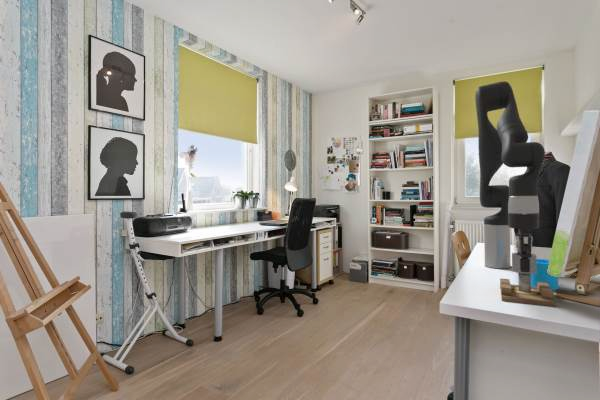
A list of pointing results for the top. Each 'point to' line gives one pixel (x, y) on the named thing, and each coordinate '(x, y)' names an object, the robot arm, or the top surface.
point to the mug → (544, 275)
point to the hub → (517, 264)
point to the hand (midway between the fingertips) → (524, 269)
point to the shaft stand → (527, 291)
